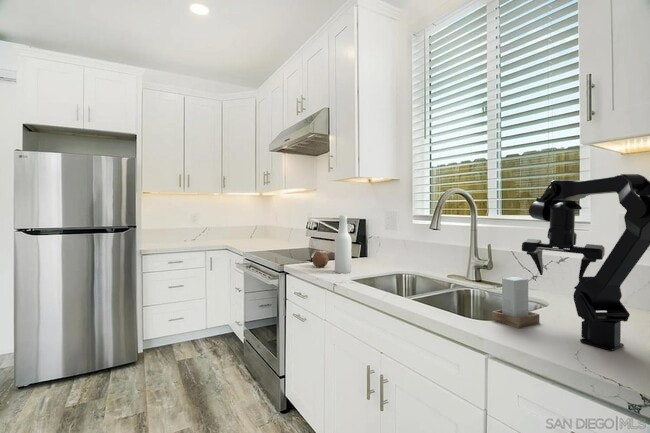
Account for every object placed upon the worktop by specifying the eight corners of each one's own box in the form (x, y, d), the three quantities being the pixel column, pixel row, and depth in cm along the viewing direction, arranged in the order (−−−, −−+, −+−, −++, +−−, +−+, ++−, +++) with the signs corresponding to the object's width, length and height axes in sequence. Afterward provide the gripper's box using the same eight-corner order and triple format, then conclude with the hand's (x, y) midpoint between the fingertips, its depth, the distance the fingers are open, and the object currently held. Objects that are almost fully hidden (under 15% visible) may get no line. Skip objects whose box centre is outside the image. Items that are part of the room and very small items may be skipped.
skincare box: (515, 315, 102) (515, 276, 101) (528, 319, 98) (529, 278, 98) (501, 318, 99) (501, 277, 99) (514, 322, 95) (514, 280, 95)
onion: (314, 271, 194) (307, 256, 196) (328, 266, 198) (321, 250, 200) (318, 268, 185) (312, 251, 187) (333, 262, 189) (326, 246, 191)
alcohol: (331, 271, 177) (331, 215, 177) (343, 270, 182) (344, 215, 182) (342, 274, 170) (342, 215, 170) (354, 272, 176) (355, 215, 175)
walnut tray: (539, 322, 97) (539, 314, 97) (519, 328, 92) (519, 319, 92) (512, 314, 104) (512, 306, 104) (491, 319, 100) (492, 311, 100)
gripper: (608, 221, 93) (605, 275, 96) (531, 218, 107) (530, 265, 109) (603, 228, 86) (600, 287, 88) (521, 223, 99) (520, 274, 101)
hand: (560, 277), depth 97 cm, fingers open, 9 cm apart
